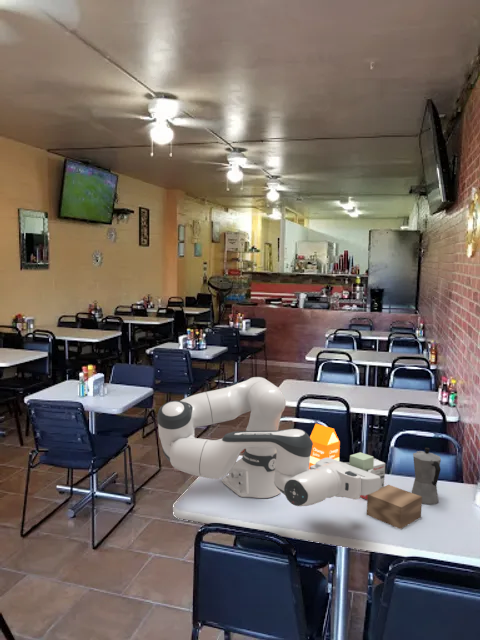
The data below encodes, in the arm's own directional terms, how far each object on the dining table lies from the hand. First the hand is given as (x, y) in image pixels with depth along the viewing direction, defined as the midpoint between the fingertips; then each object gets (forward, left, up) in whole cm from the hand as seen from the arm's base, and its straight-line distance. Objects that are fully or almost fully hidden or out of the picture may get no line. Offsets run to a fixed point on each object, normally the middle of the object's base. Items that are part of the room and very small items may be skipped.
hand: (363, 468), depth 153 cm
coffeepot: (+3, +32, -18) cm, 37 cm away
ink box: (-11, +20, -18) cm, 29 cm away
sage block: (0, -1, -6) cm, 6 cm away
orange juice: (-31, +18, -18) cm, 40 cm away
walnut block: (+3, +13, -18) cm, 22 cm away
